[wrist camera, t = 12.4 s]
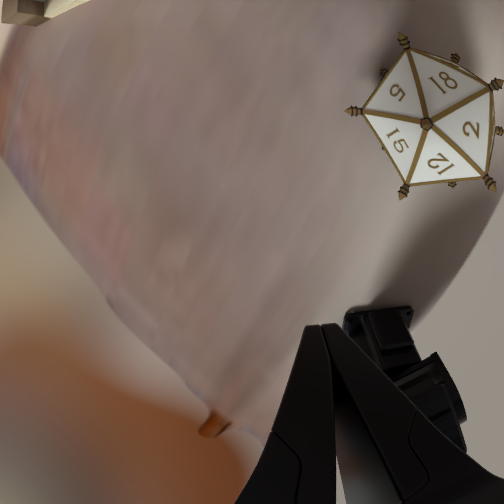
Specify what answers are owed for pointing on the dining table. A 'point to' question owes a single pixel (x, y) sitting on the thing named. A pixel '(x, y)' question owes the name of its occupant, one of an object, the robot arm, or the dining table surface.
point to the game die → (433, 119)
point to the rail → (35, 10)
